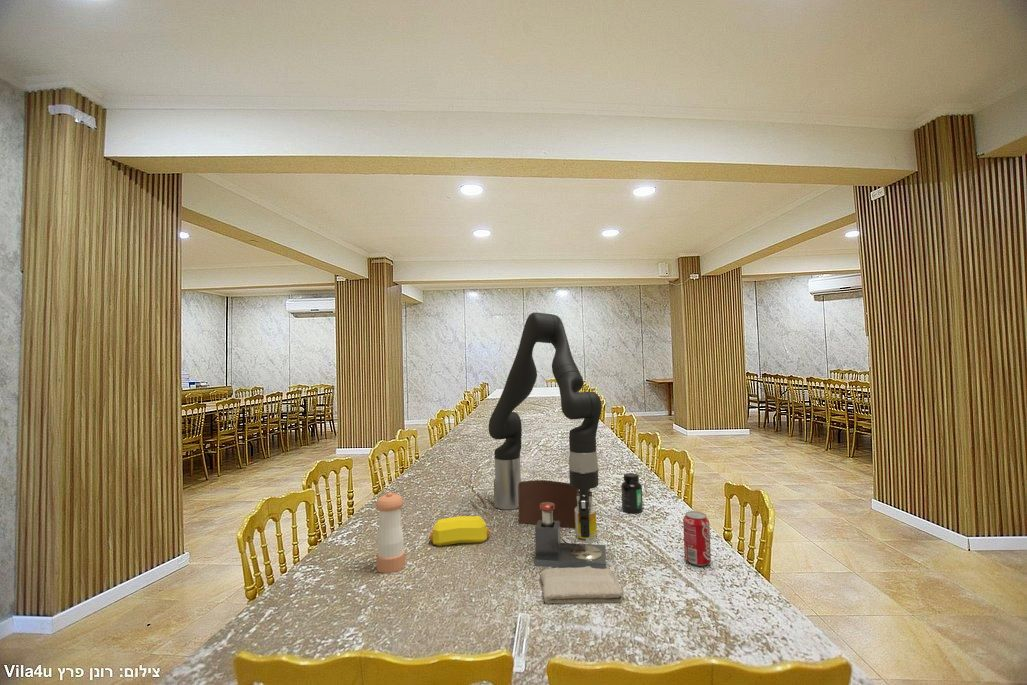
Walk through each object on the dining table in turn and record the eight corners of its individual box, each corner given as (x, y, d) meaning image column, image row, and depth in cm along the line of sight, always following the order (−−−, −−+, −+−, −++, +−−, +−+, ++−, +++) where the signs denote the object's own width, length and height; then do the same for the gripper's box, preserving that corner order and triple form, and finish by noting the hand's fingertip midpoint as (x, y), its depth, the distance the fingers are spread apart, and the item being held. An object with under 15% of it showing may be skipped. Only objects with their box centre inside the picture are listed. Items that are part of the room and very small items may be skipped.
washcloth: (626, 604, 97) (625, 590, 98) (543, 607, 97) (543, 593, 97) (614, 577, 109) (613, 564, 109) (540, 580, 109) (539, 567, 109)
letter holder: (579, 529, 139) (578, 483, 139) (518, 523, 145) (517, 479, 145) (584, 517, 148) (583, 474, 148) (527, 512, 154) (525, 471, 154)
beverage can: (710, 557, 117) (708, 511, 117) (712, 569, 111) (710, 520, 111) (684, 555, 119) (682, 509, 119) (685, 565, 113) (683, 517, 113)
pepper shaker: (379, 575, 113) (377, 498, 113) (374, 564, 119) (372, 491, 119) (408, 568, 116) (406, 493, 116) (401, 557, 122) (400, 486, 123)
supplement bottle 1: (601, 541, 117) (599, 502, 117) (582, 545, 115) (580, 505, 115) (590, 533, 122) (588, 495, 122) (571, 537, 120) (570, 498, 121)
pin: (539, 537, 119) (538, 506, 119) (541, 531, 123) (540, 501, 123) (554, 538, 118) (553, 507, 118) (556, 532, 122) (555, 502, 122)
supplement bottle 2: (645, 513, 150) (643, 477, 150) (624, 514, 150) (623, 477, 150) (639, 506, 156) (638, 471, 157) (620, 507, 156) (618, 472, 157)
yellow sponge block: (491, 544, 130) (489, 533, 138) (491, 520, 130) (489, 511, 138) (428, 549, 128) (429, 538, 135) (427, 525, 128) (429, 516, 135)
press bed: (534, 565, 116) (533, 532, 116) (540, 547, 126) (539, 516, 127) (606, 570, 112) (604, 535, 112) (605, 550, 123) (604, 519, 123)
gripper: (571, 460, 127) (573, 521, 126) (567, 474, 113) (569, 542, 112) (598, 461, 125) (600, 522, 125) (597, 475, 111) (600, 544, 111)
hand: (585, 531), depth 119 cm, fingers closed on supplement bottle 1, 5 cm apart
